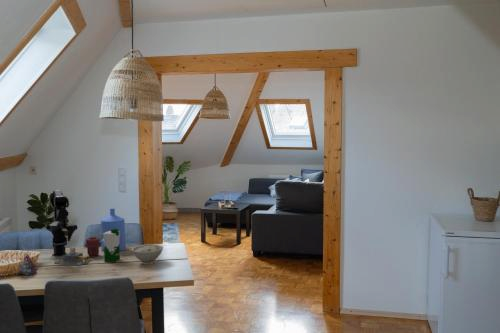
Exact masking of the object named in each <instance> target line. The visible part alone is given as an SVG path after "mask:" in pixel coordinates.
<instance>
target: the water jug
mask: <svg viewBox="0 0 500 333" xmlns="http://www.w3.org/2000/svg"><path fill="white" fill-rule="evenodd" d="M109 210H110V211H109V215H107V216H106V217H104V218H102V219H101V220H100V230H101V232H102V234H103V233H105V232H108V231H111V229H118V231H120V237H119V244H120V252H121V251H124V250H125V249H126V238H125V237H126V231H125V230H126V229H125V224H126V223H125V218H124V217H121V216H119V215H117V214H116V211H115V210H116V209H115V208H109ZM101 251H102V252H104V237H102V239H101Z"/></svg>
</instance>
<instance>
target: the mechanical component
mask: <svg viewBox="0 0 500 333" xmlns="http://www.w3.org/2000/svg"><path fill="white" fill-rule="evenodd" d="M84 247H85V248H87V256H88V258H92V257H99V253H100V247H102V242H100V237H96V236H90V237H87V238H86V239H85V244H84Z"/></svg>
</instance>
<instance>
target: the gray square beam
mask: <svg viewBox="0 0 500 333" xmlns="http://www.w3.org/2000/svg"><path fill="white" fill-rule="evenodd" d="M75 252H76V247H75V246H72V247H69V253H70V255H75Z"/></svg>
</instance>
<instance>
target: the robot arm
mask: <svg viewBox="0 0 500 333" xmlns="http://www.w3.org/2000/svg"><path fill="white" fill-rule="evenodd" d="M48 199H49V203H50V207H51V208H52V209H53V219H54V220H53V222H51V223H50V224H47V225H46V227H45V228H46V230H48V232H50V233H51V234H52V237H51V246H52V247H53V253H52V256H58V257H59V256H63V255H65V254H67V252H66V246H67V245H68V242H70V241H71V238H72V237H73V235H74V233H75V231H77V229H78V225H77V224H69V223H67V219H68V218H69V217H68V216H69V212H68V210H67V208H69V207H70V202H69V198H68V197H67V196H66V195H65V194H64V193H63V192H62V190H61V189H55V190H52V192H51V193H50V194H49V198H48ZM63 229H64V230H66V233H67V235H66V233H65V231H64V230H63Z"/></svg>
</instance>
